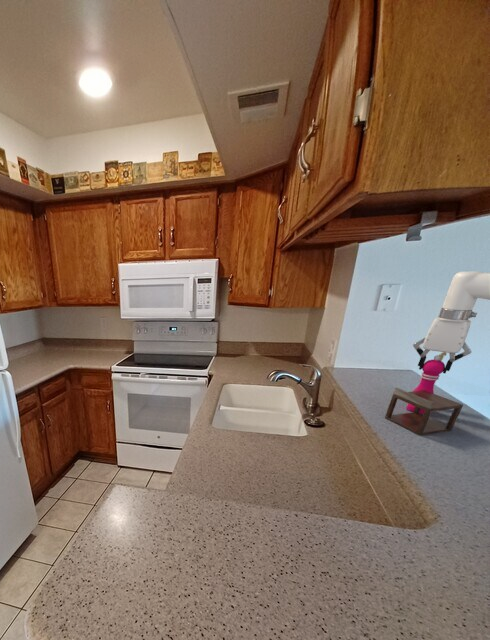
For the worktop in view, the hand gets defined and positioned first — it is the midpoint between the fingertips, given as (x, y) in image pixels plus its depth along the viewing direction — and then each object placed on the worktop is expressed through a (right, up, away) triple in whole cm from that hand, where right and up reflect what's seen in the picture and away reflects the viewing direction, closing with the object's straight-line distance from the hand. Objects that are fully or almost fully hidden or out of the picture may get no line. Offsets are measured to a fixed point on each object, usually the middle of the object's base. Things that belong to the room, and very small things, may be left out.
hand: (432, 370), depth 111 cm
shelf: (-7, -19, -3) cm, 20 cm away
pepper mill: (0, -13, +7) cm, 15 cm away
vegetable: (+5, -11, +12) cm, 17 cm away
